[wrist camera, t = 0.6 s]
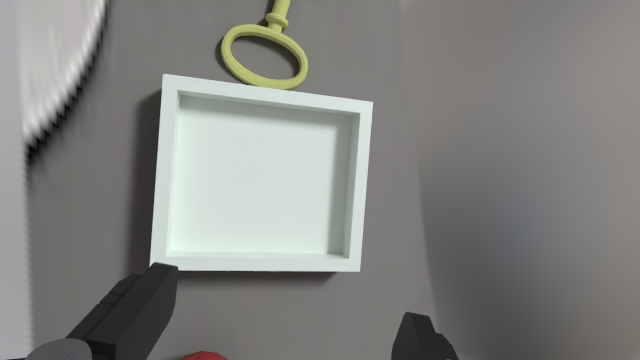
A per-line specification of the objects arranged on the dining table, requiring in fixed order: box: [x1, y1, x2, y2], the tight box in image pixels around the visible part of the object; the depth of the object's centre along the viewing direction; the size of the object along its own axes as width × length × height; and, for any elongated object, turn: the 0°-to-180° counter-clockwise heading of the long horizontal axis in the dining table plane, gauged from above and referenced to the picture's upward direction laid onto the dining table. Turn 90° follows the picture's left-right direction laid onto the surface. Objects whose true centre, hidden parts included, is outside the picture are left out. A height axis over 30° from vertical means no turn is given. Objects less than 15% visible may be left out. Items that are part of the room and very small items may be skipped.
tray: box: [150, 74, 373, 272], centre depth 29 cm, size 14×16×3 cm
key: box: [221, 0, 308, 91], centre depth 29 cm, size 7×12×2 cm, turn 2°
